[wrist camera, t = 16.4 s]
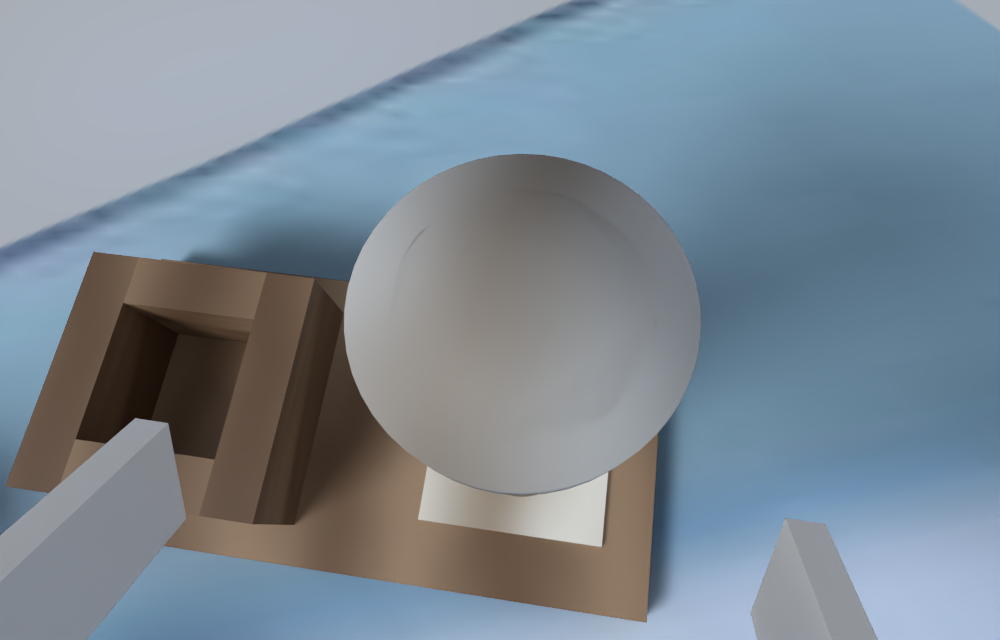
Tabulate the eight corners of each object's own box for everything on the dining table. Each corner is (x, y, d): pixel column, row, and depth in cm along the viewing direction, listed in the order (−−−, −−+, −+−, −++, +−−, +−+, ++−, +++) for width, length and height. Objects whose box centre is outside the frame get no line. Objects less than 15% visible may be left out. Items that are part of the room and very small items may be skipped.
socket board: (660, 326, 28) (688, 284, 23) (641, 619, 24) (670, 640, 19) (173, 267, 30) (106, 218, 25) (86, 530, 26) (-12, 531, 21)
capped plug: (599, 380, 26) (707, 171, 11) (586, 525, 24) (694, 516, 9) (461, 362, 26) (381, 138, 11) (439, 504, 25) (307, 464, 10)
